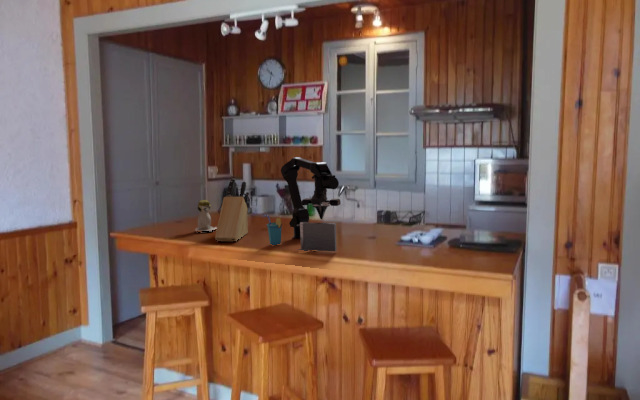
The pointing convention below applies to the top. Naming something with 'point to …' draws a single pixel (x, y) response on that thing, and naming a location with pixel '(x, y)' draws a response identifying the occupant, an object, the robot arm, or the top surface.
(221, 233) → the knife block
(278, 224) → the cup
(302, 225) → the dark grey flat panel
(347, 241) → the top surface
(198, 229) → the white figurine
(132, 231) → the top surface
